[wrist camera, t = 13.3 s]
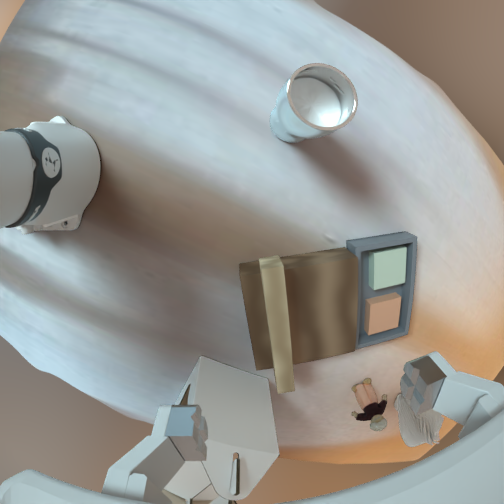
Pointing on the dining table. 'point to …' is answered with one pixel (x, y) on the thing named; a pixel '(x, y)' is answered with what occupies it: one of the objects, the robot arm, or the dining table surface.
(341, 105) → the beer glass
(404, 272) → the sage tile
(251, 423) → the gable box
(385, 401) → the grandmother figurine
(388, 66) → the dining table surface
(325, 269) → the dark wooden square block
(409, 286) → the box
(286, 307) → the bar
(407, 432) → the shell sculpture
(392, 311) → the terracotta tile
